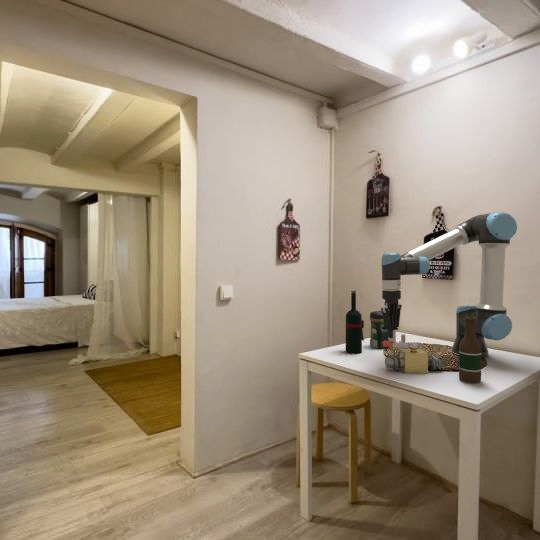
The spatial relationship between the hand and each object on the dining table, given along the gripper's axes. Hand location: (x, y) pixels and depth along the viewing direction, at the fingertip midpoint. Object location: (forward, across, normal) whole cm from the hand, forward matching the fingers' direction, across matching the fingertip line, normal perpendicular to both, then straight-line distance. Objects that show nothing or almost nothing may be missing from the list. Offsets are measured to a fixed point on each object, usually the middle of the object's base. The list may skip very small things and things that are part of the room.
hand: (392, 345), depth 161 cm
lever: (0, -1, -4) cm, 4 cm away
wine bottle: (+9, +9, +25) cm, 28 cm away
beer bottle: (+10, +5, -29) cm, 31 cm away
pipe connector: (+10, +18, +5) cm, 21 cm away
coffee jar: (+10, +25, +21) cm, 34 cm away
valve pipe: (+9, +1, -9) cm, 13 cm away
